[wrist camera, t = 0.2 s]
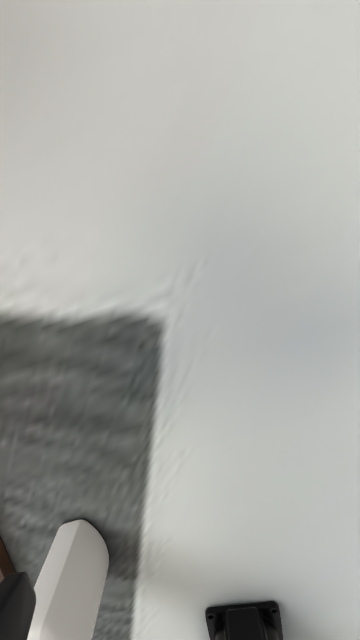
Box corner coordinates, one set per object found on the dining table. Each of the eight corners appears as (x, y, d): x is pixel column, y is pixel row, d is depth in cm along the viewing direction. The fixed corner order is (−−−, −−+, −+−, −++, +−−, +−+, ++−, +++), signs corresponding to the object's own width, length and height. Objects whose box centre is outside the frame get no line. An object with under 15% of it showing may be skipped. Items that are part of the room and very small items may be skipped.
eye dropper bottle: (58, 563, 28) (-34, 806, 16) (61, 513, 26) (-39, 741, 14) (108, 570, 28) (52, 816, 16) (114, 520, 26) (57, 753, 15)
